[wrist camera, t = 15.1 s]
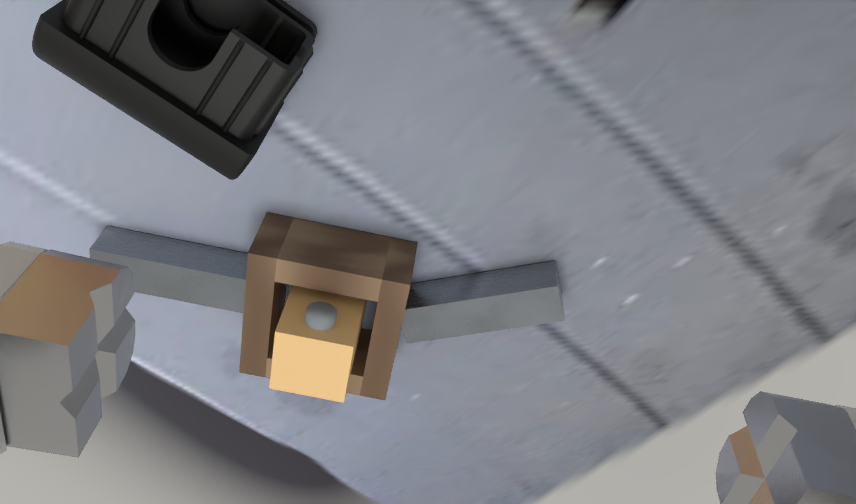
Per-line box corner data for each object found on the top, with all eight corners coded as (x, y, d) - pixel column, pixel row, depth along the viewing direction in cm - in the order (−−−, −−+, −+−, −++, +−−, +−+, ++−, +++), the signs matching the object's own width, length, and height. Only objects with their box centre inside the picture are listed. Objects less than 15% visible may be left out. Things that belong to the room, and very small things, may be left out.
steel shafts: (572, 263, 44) (575, 289, 42) (543, 344, 48) (545, 371, 46) (104, 169, 43) (85, 192, 41) (109, 259, 47) (91, 283, 45)
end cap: (81, 22, 39) (11, 74, 33) (143, -103, 35) (75, -68, 30) (258, 138, 42) (220, 204, 36) (330, 34, 38) (301, 89, 33)
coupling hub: (417, 242, 44) (410, 285, 41) (393, 354, 49) (385, 400, 46) (267, 212, 44) (247, 252, 41) (257, 327, 49) (239, 372, 46)
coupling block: (374, 258, 45) (355, 338, 39) (361, 326, 48) (342, 410, 42) (305, 244, 45) (275, 322, 39) (296, 314, 48) (268, 396, 42)
